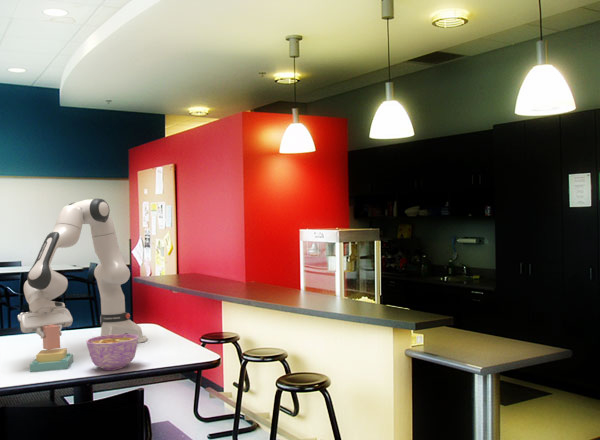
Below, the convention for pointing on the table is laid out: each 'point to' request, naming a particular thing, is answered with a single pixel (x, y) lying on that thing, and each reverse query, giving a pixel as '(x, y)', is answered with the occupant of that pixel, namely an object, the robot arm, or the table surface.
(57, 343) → the tall brick
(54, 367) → the stepped square block
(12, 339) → the table surface
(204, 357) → the table surface
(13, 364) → the table surface
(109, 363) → the bowl of food
